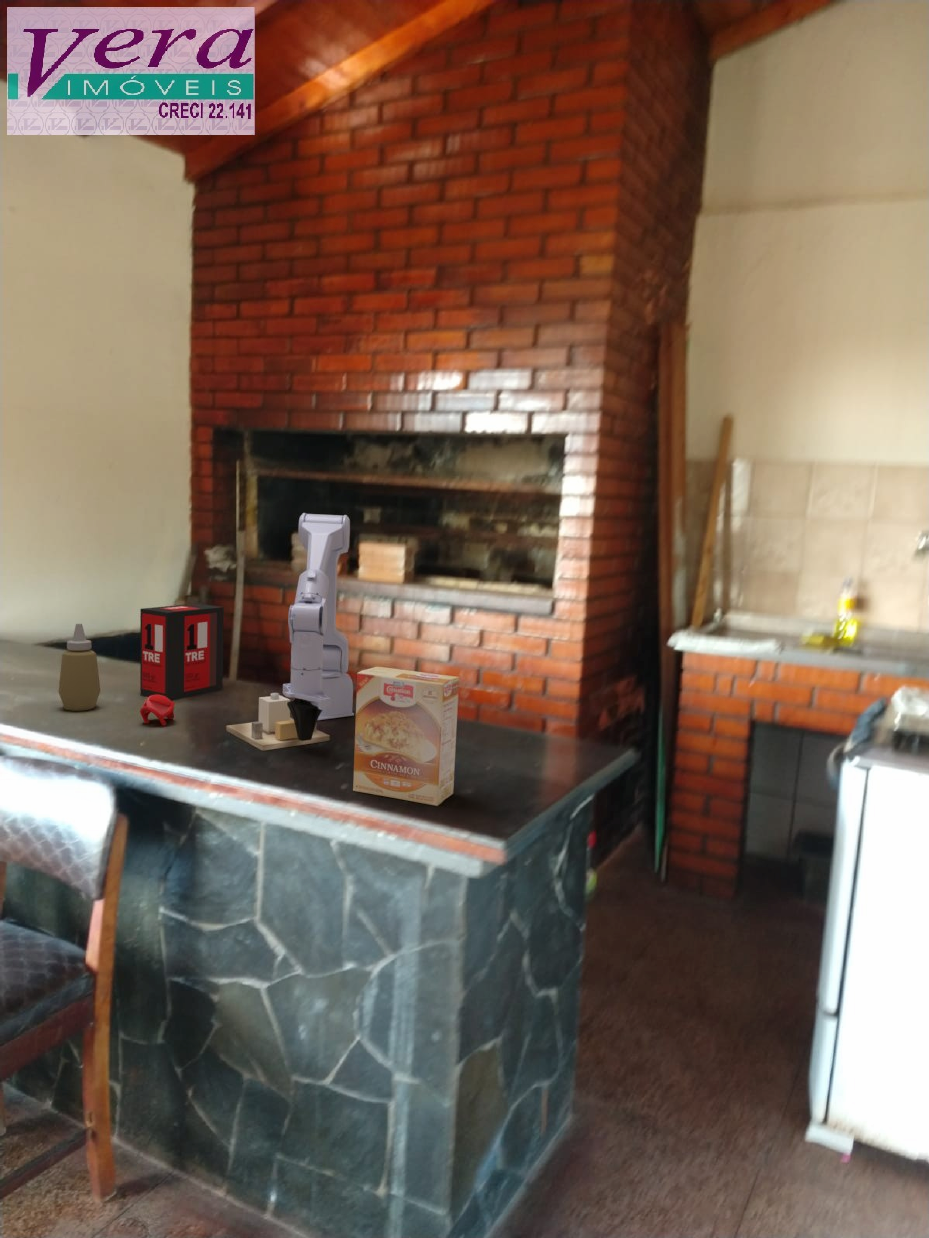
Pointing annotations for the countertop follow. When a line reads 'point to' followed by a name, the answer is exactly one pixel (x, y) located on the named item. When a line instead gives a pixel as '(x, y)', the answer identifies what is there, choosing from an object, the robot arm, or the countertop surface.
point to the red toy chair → (158, 708)
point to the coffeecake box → (405, 734)
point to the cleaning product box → (181, 650)
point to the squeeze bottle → (79, 674)
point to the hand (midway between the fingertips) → (304, 739)
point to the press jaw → (285, 730)
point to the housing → (273, 711)
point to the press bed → (270, 736)
